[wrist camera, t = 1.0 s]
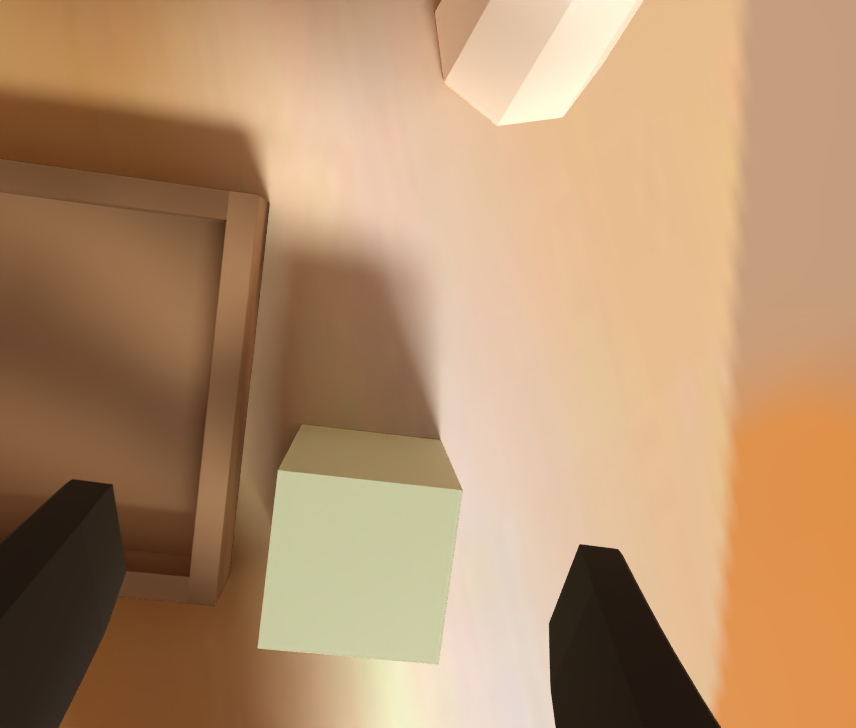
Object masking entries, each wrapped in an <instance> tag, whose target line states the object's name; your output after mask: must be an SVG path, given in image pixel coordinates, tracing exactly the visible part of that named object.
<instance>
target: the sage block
mask: <svg viewBox="0 0 856 728" xmlns="http://www.w3.org/2000/svg"><path fill="white" fill-rule="evenodd" d="M462 491H463V490H462V488H461V485H460V483H459V481H458V479H457V476H456V474H455V472H454V469H453V467H452V465H451V462H450V460H449V458H448V456H447V453H446V451H445V449H444V446H443V444H442V442H441V440H436V439H428V438H419V437H410V436H402V435H393V434H384V433H375V432H367V431H358V430H349V429H341V428H332V427H323V426H315V425H306V424H302V425H301V427H300V429H299V430H298V432H297V434H296V436H295V438H294V440H293V442H292V444H291V446H290V448H289V450H288V452H287V454H286V455H285V457H284V459H283V461H282V463H281V465H280V467H279V469H278V473H277V482H276V491H275V500H274V508H273V517H272V526H271V535H270V543H269V552H268V561H267V570H266V579H265V587H264V596H263V605H262V614H261V622H260V631H259V640H258V649H269V650H280V651H291V652H303V653H314V654H325V655H336V656H348V657H359V658H370V659H382V660H393V661H404V662H416V663H427V664H439V657H440V650H441V643H442V636H443V628H444V621H445V614H446V607H447V599H448V592H449V585H450V578H451V571H452V563H453V556H454V549H455V542H456V535H457V527H458V520H459V513H460V506H461V498H462Z"/></svg>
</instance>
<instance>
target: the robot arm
mask: <svg viewBox="0 0 856 728" xmlns="http://www.w3.org/2000/svg"><path fill="white" fill-rule="evenodd" d="M125 574H126V565H125V559H124V552H123V546H122V540H121V534H120V527H119V521H118V515H117V508H116V502H115V496H114V490H113V484H107V483H99V482H91V481H84V480H76V479H72V480H70V481H69V482H67V483H66V484H65V485H63V486H62V487H61V488H60V489H59V490H58V491H57V492H56V493H55V494H53V495H52V496H51V497H50V498H49V499H48V500H47V501H46V502H45V503H44V504H42V505H41V506H40V507H39V508H38V509H37V510H36V511H35V512H34V513H33V514H31V515H30V516H29V517H28V518H27V519H26V520H25V521H24V522H23V523H21V524H20V525H19V526H18V527H17V528H16V529H15V530H14V531H13V532H11V533H10V534H9V535H8V536H7V537H6V538H5V539H3V540H2V541H1V542H0V728H58V727H59V725H60V723H61V721H62V719H63V717H64V715H65V713H66V711H67V709H68V707H69V705H70V703H71V701H72V699H73V697H74V695H75V693H76V691H77V689H78V687H79V685H80V683H81V681H82V679H83V677H84V675H85V673H86V671H87V669H88V667H89V665H90V663H91V661H92V658H93V656H94V654H95V652H96V650H97V648H98V646H99V644H100V642H101V640H102V638H103V636H104V633H105V630H106V628H107V625H108V622H109V620H110V617H111V614H112V611H113V609H114V606H115V603H116V600H117V597H118V594H119V591H120V589H121V586H122V583H123V580H124V577H125ZM549 649H550V684H551V695H552V703H553V711H554V718H555V726H556V728H721V727H720V725H719V724H718V722H717V721H716V719H715V718H714V716H713V714H712V713H711V711H710V710H709V708H708V706H707V705H706V703H705V702H704V700H703V698H702V697H701V695H700V694H699V692H698V690H697V689H696V687H695V685H694V684H693V682H692V680H691V679H690V677H689V675H688V674H687V672H686V670H685V669H684V667H683V665H682V664H681V662H680V660H679V658H678V657H677V655H676V653H675V652H674V650H673V648H672V646H671V645H670V643H669V641H668V639H667V638H666V636H665V634H664V632H663V631H662V629H661V627H660V625H659V623H658V621H657V620H656V618H655V616H654V614H653V612H652V610H651V609H650V607H649V605H648V603H647V601H646V599H645V597H644V595H643V594H642V592H641V590H640V588H639V586H638V584H637V582H636V580H635V578H634V576H633V574H632V572H631V570H630V569H629V567H628V565H627V563H626V561H625V559H624V557H623V555H622V554H621V552H620V551H619V550H618V549H612V548H605V547H597V546H589V545H581V544H580V545H579V547H578V550H577V552H576V555H575V558H574V560H573V563H572V565H571V568H570V571H569V573H568V576H567V578H566V581H565V583H564V586H563V589H562V591H561V594H560V596H559V599H558V602H557V604H556V607H555V609H554V612H553V615H552V617H551V620H550V622H549Z"/></svg>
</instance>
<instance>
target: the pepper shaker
mask: <svg viewBox="0 0 856 728" xmlns="http://www.w3.org/2000/svg"><path fill="white" fill-rule="evenodd" d="M642 2H643V0H441V2H440V4H439V6H438V8H437V9H436V11H435V18H436V26H437V33H438V41H439V48H440V56H441V64H442V71H443V79H444V83H445V84H446V85H447V86H449V87H450V88H451V89H452V90H453V91H455V92H456V93H457V94H458V95H460V96H461V97H462V98H463V99H465V100H466V101H467V102H468V103H470V104H471V105H472V106H473V107H475V108H476V109H477V110H478V111H480V112H481V113H482V114H483V115H484V116H486V117H487V118H488V119H489V120H491V121H492V122H493V123H494V124H496V125H497V126H499V125H506V124H514V123H522V122H530V121H538V120H546V119H553V118H561V117H563V116H564V115H565V113H566V112H567V111H568V109H569V108H570V107H571V105H572V104H573V103H574V101H575V100H576V99H577V97H578V96H579V95H580V93H581V92H582V91H583V89H584V88H585V87H586V85H587V84H588V83H589V81H590V80H591V79H592V77H593V76H594V75H595V73H596V72H597V71H598V69H599V68H600V67H601V65H602V64H603V63H604V61H605V60H606V58H607V57H608V55H609V53H610V52H611V50H612V49H613V47H614V46H615V44H616V43H617V41H618V39H619V38H620V36H621V35H622V33H623V32H624V30H625V28H626V27H627V25H628V24H629V22H630V21H631V19H632V18H633V16H634V14H635V13H636V11H637V10H638V8H639V7H640V5H641V4H642Z"/></svg>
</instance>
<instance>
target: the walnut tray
mask: <svg viewBox="0 0 856 728" xmlns="http://www.w3.org/2000/svg"><path fill="white" fill-rule="evenodd" d="M269 205H270V203H268V202H267V201H266V200H264V199H263V198H262V197H261V196H259V195H256V194H249V193H242V192H234V191H227V190H220V189H213V188H206V187H199V186H192V185H184V184H177V183H170V182H163V181H156V180H149V179H142V178H134V177H127V176H120V175H113V174H106V173H99V172H92V171H84V170H77V169H70V168H63V167H56V166H49V165H42V164H34V163H27V162H20V161H13V160H6V159H0V542H1V541H2V540H3V539H5V538H6V537H7V536H8V535H9V534H10V533H11V532H13V531H14V530H15V529H16V528H17V527H18V526H19V525H20V524H21V523H23V522H24V521H25V520H26V519H27V518H28V517H29V516H30V515H31V514H33V513H34V512H35V511H36V510H37V509H38V508H39V507H40V506H41V505H42V504H44V503H45V502H46V501H47V500H48V499H49V498H50V497H51V496H52V495H53V494H55V493H56V492H57V491H58V490H59V489H60V488H61V487H62V486H63V485H65V484H66V483H67V482H69V481H70V480H72V479H76V480H84V481H91V482H99V483H107V484H113V490H114V496H115V502H116V508H117V515H118V521H119V527H120V534H121V540H122V546H123V552H124V559H125V565H126V574H125V577H124V580H123V583H122V586H121V589H120V591H119V594H118V597H124V598H135V599H145V600H156V601H167V602H178V603H188V604H199V605H210V606H215V604H216V602H217V600H218V598H219V596H220V594H221V592H222V590H223V588H224V586H225V584H226V582H227V580H228V578H229V573H230V564H231V554H232V545H233V536H234V527H235V518H236V508H237V499H238V490H239V481H240V472H241V462H242V453H243V444H244V435H245V426H246V416H247V407H248V398H249V389H250V380H251V370H252V361H253V352H254V343H255V334H256V325H257V315H258V306H259V297H260V288H261V279H262V269H263V260H264V251H265V242H266V233H267V223H268V214H269Z"/></svg>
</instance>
